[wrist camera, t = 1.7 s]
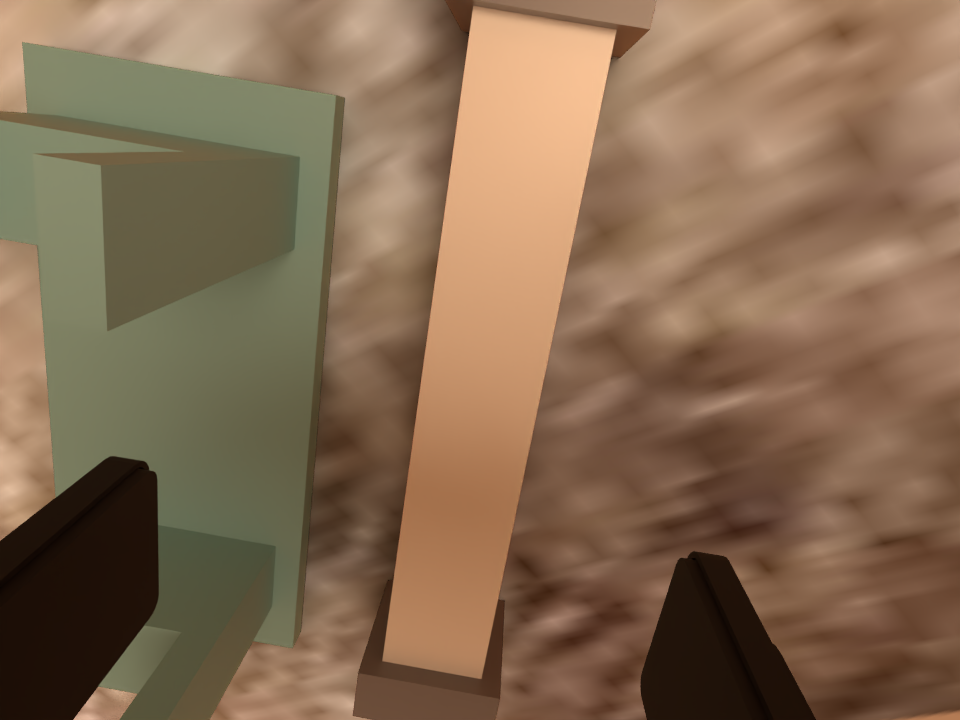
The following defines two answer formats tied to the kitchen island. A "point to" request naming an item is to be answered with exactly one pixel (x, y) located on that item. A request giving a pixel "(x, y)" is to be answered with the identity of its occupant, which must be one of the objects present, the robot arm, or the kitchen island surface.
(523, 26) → the tan wooden bar
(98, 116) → the rack
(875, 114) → the kitchen island surface
